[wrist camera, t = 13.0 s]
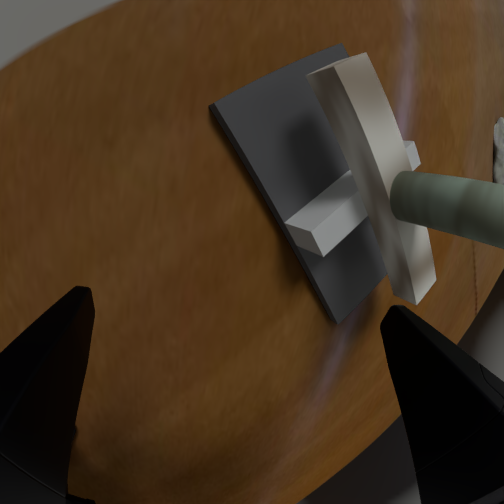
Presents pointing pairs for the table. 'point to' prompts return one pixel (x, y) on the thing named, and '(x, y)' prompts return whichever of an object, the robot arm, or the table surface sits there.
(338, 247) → the fulcrum stand
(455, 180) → the bar
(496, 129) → the stone tool
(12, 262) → the table surface
